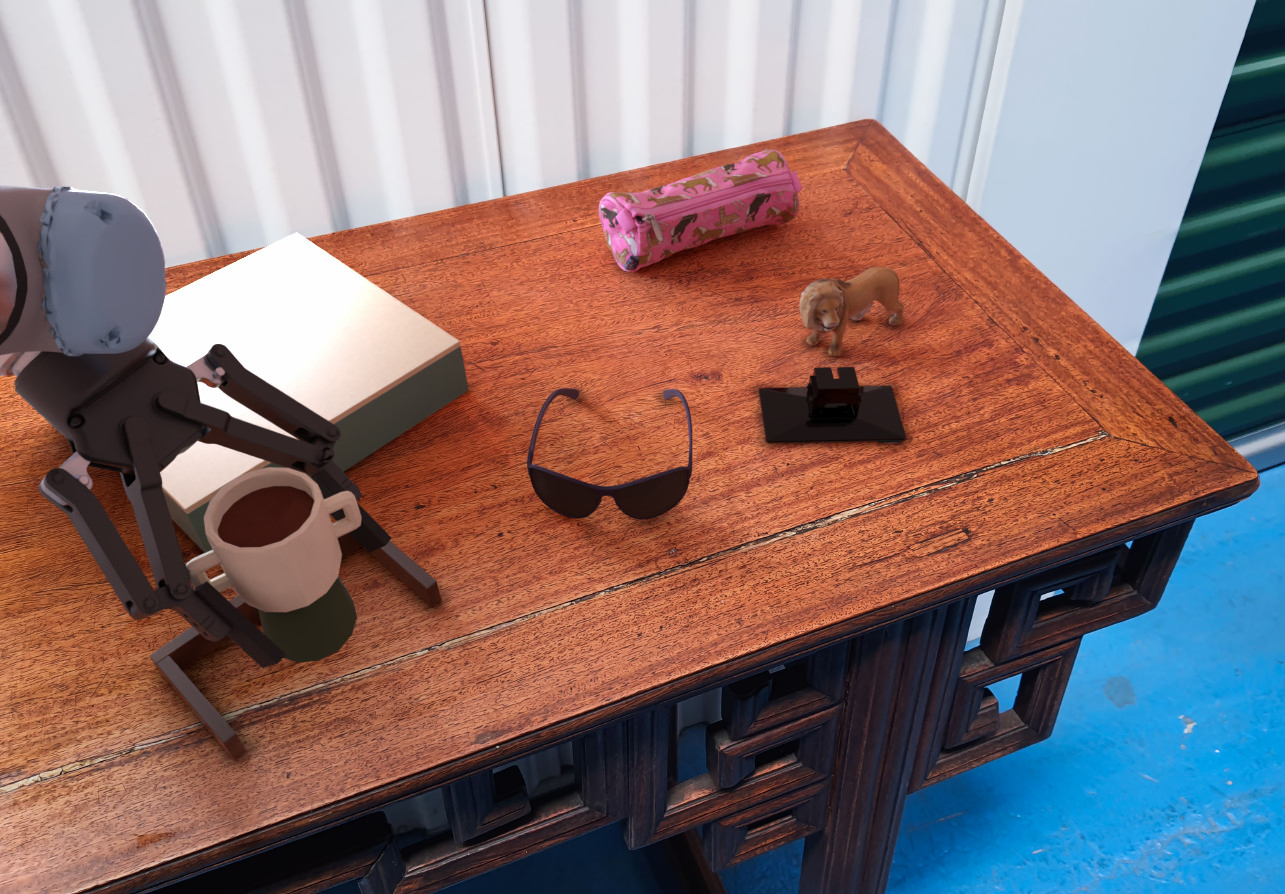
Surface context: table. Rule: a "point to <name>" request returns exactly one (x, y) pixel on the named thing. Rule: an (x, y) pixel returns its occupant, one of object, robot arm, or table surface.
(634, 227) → the pencil case
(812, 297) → the lion figurine
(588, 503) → the sunglasses
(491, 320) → the table surface
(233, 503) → the character mug
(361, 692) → the table surface
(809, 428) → the build plate
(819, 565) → the table surface
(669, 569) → the table surface
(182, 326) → the cream square platform
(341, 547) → the dark brown u-shaped bracket
